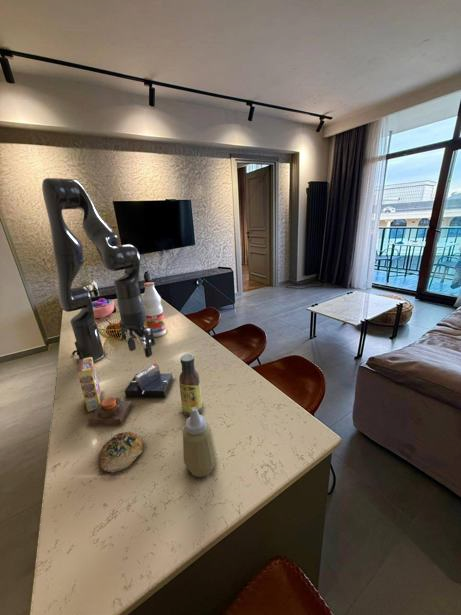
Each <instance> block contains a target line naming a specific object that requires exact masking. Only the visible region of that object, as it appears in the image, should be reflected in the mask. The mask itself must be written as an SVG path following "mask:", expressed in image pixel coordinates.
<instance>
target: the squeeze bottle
mask: <svg viewBox="0 0 461 615" xmlns="http://www.w3.org/2000/svg"><path fill="white" fill-rule="evenodd" d="M182 447H183V448H182V449H183V450H182V452H183V464H184V465H185V467H186V468H187V469H188V471H189V472H190V473H191V475H192V476H194V477H195V478H196V477H197V478H203V477H206V476H208V475H209V474H210V473H211V472H212V470H213V469H214V465H215V462H216V460H217V449H216V445H215V441H214V437H213V432H212V428H211V425H210V423H209V422H207V420H206V418H205V416H204V415H202V414H200V413H198V410H197V408H196V407H193V408H192V409H191V416H188V418H187V419H186V421H185V427H183V431H182Z"/></svg>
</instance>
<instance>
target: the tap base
mask: <svg viewBox="0 0 461 615" xmlns="http://www.w3.org/2000/svg"><path fill="white" fill-rule="evenodd" d="M137 374H138V373H135V375H137ZM160 375H161V376H160V377H158V378H157V379H155V380H154V381H153V382H151V383H150V384H148V385H147V386H145V387H144V388H142V389H139V388H137V384H136V379H135V376H133V378H132V380H131V381H130V382H129V384H128V385H127V387H126V388H125V390H124V393H125V398H126V399H141V398H142V399H166V397H167V395H168V392H169V390H170V388H171V385H172V384H173V381H174V377H173V373H160Z"/></svg>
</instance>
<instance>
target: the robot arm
mask: <svg viewBox="0 0 461 615" xmlns="http://www.w3.org/2000/svg"><path fill="white" fill-rule="evenodd" d="M41 189H42V198H43V200H44V205H45V210H46V213H47V214H46V215H47V217H48V222H49V228H50V233H51V241H52V242H51V243H52V250H53V257H54V258H53V259H54V263H55V267H56V274H57V286H58V300H59V304H60V307H61V308H62V310H63V311H64V312H66V313H70V312H74V311H79V312H78V313H77V314H76V315H74V316H73V317H72V318H71V319H70V325H71V328H72V332H73V335H74V337H75V341H74V346H75V350H73V351H72V353H71V355H72V356H75V354H76V355H77V356H78V359H79V360H81V359H85V358H89V357H92V359H93V363H94V362H98V361H100V360H102V359H104V357H105V355H106V354H105V351H104V346H103V343H102V339H101V336H100V333H99V328H98V324H97V321H96V318H95V314H94V310H93V304H92V302H93V301H92V295H91V293H90V291H89V289H88V287H87V286H84V285H80V286H75V287H72V286H73V282H74V280H75V279H76V277H77V275H78V274H79V273H80V271H81V269H82V267H83V265H84V261H85V259H84V248H83V244H82V242H81V240H80V239H79V238H78V237H77V235H75V233H74V232H73V231H72V230H71V229H70V228H69V227H68V225H67V223H66V222H65V218H64V216H63V211H65V210H80V211H81V212H82V213H83V215H82V221H81V222H82V229H83V232H84V233H85V235H86V236H87V238H88V239H89V240H90V241H91V242H92V243H93V245H94V246H95V247H96V248H95V249H97V252H98V254H99V256H100V259H101V263H102V265H103V266H104V268H106V269H107V270H109V271H112V272H118V271H122V270H124V272H123V274H122V275H121V276H119V277H117V278H116V279H115V280H114V282H113V284H114V290H115V294H116V299H117V307H118V308H117V309H118V313H119V317H120V323H119V328H120V334H121V338H122V340H124V339H125V342H127V346H128V350H129V351H130V352H133V351H136V349H137V346H136V342H135V339H136V340H137V341H138V343H140V344H141V345H142V346H143V352H144V356H145V358H147V359H148V358H150V357H152V356H153V351H152V347H153V346H156V340H155V337H154V335H153V331H152V328H149V329H147V327H146V326H145V323H146V315H145V310H144V307H145V306H144V304H143V297H142V294H141V289H140V288H141V287H140V283H139V282H140V280H139V279H140V267H141V255H140V252H139V250H138V248H137V247H136V246H135V245H133V244H131V243H127V244H119V241H120V240H119V236H118V235H117V233H116V232H115V231H114V230H113V228H111V226H110V225H109V224H108V223H107V222H106V220H104V218H103V217H102V216H101V214H100V212H99V211H98V209H97V207H96V206H95V204H94V202H93V201H92V199H91V198H90V196H89V195H88V192H87V191H86V189H85V188H84V187H83V185H82V184H81V183H80V182H79V181H78V180H76V179H73V178H62V177H61V178H58V177H56V178H55V177H45V178H44V179H43V180H42V183H41ZM118 244H119V245H118Z"/></svg>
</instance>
